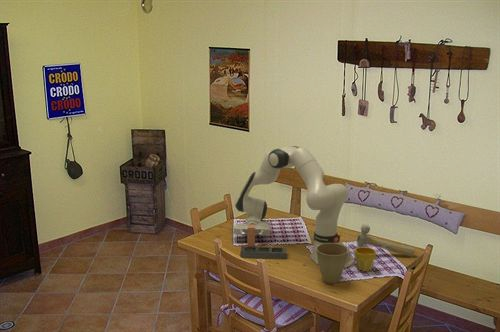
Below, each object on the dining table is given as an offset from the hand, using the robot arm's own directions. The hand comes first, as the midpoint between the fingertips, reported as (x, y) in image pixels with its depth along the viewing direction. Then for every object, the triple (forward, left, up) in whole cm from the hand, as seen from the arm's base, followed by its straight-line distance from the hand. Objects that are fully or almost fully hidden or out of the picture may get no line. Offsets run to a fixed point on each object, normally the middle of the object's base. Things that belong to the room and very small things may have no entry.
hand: (251, 234), depth 296 cm
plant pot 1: (-52, +15, -7) cm, 55 cm away
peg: (0, +1, -7) cm, 7 cm away
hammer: (-66, -27, -7) cm, 72 cm away
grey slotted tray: (-11, +6, -7) cm, 14 cm away
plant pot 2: (-62, -5, -7) cm, 63 cm away
